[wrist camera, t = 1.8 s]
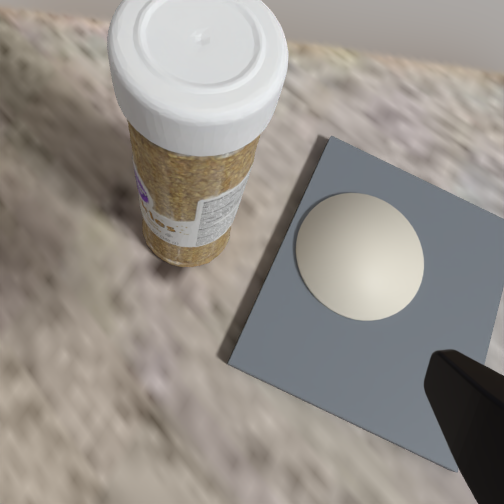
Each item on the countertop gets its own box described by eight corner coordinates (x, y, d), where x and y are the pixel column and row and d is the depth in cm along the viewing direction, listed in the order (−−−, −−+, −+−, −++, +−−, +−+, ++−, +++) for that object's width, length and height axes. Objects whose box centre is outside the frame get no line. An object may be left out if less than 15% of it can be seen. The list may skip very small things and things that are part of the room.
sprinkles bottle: (125, 217, 23) (65, 5, 11) (198, 173, 25) (220, -60, 12) (176, 288, 23) (177, 151, 10) (248, 239, 24) (328, 64, 11)
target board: (450, 470, 22) (459, 473, 21) (226, 364, 22) (228, 363, 21) (511, 229, 27) (520, 225, 26) (327, 141, 27) (332, 133, 26)
